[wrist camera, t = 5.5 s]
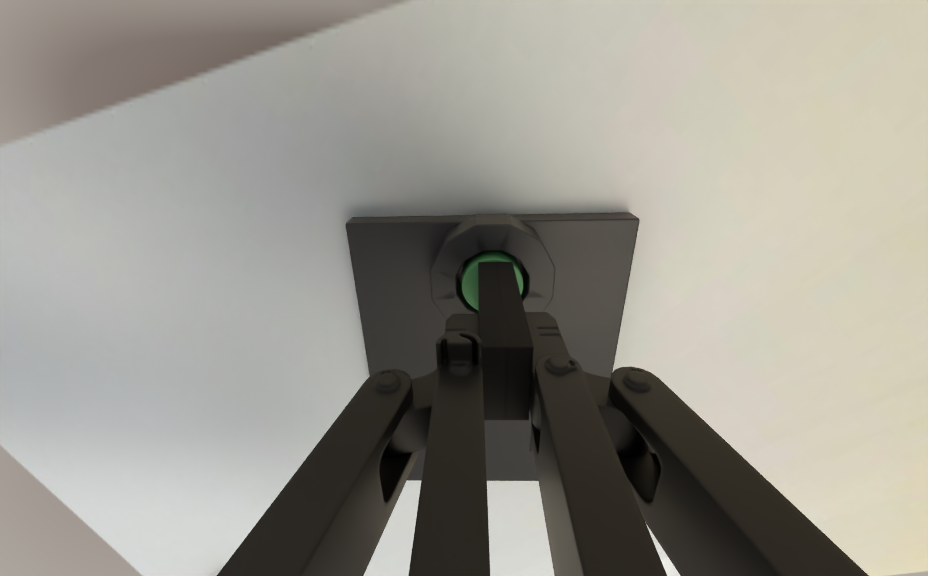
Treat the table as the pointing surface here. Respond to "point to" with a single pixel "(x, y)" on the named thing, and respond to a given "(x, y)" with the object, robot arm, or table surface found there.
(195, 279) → the table surface
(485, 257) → the button
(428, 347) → the scale
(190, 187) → the table surface
